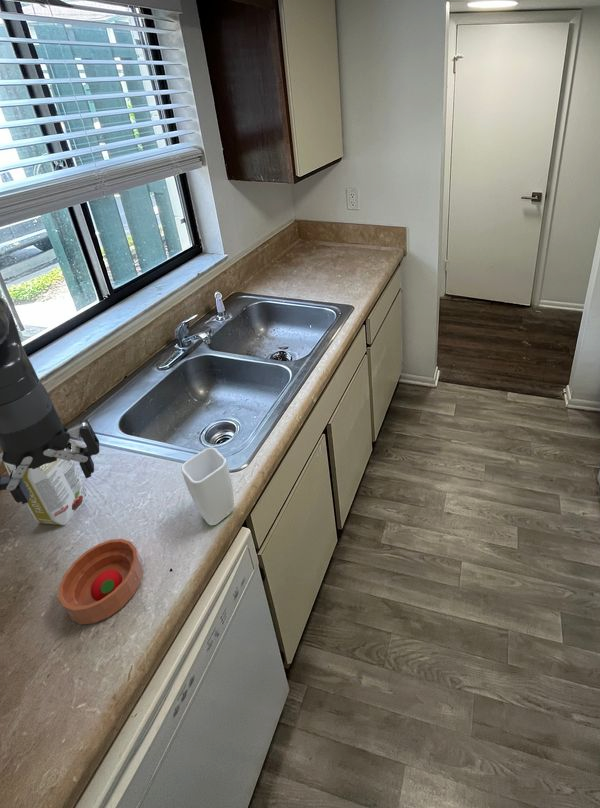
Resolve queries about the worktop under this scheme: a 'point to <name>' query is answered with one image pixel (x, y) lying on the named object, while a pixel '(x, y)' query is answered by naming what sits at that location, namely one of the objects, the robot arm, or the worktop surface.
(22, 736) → the worktop surface
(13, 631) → the worktop surface
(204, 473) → the cup
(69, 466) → the juice carton
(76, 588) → the bowl
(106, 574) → the tomato
